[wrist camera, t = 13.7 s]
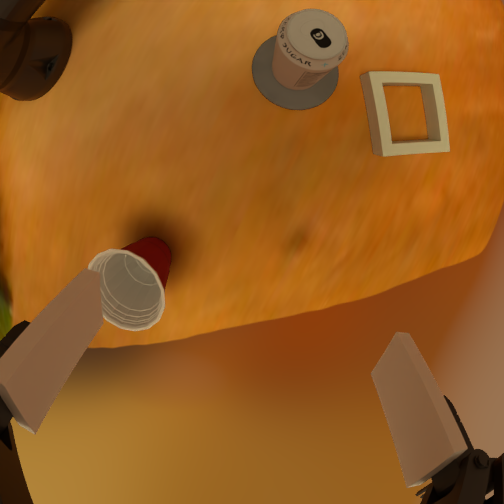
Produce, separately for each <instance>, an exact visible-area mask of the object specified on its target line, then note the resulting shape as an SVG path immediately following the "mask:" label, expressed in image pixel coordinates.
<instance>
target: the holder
mask: <svg viewBox="0 0 504 504" xmlns="http://www.w3.org/2000/svg"><path fill="white" fill-rule="evenodd" d="M360 79H361V84H362V89H363V94H364V99H365V104H366V110H367V115H368V121H369V128H370V134H371V141H372V149H373V154H375V155H379V156H394V155H405V154H418V153H434V152H450V147H449V136H448V126H447V118H446V111H445V105H444V98H443V93H442V87H441V82H440V77H439V74H430V73H415V72H388V71H370V72H367V73H365V74H363V75H361V76H360ZM383 86H420V87H421V93H422V98H423V104H424V110H425V117H426V124H427V132H428V139H425V140H406V141H392V139H391V132H390V125H389V118H388V112H387V106H386V101H385V95H384V90H383Z"/></svg>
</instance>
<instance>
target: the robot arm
mask: <svg viewBox="0 0 504 504" xmlns="http://www.w3.org/2000/svg"><path fill="white" fill-rule="evenodd" d="M44 2H45V0H0V92H1V93H3V94H5V95H8V96H10V97H11V98H13V99H15V100H19V101H31V100H35V99H37V98H39V97H41V96H43V95H44V94H45V93H46V92H48V91H49V90H50V89H51V88H52V86H53V85H54V84H55V83H56V81H57V80H58V79H59V77H60V75H61V74H62V72H63V70H64V68H65V66H66V64H67V61H68V58H69V55H70V51H71V45H72V35H71V30H70V28H69V26H68V24H67V23H66V22H64V21H63V20H60V19H58V18H55V17H40V18H32V19H30V18H31V17H32V15H33V14H34V13H35V12H36V11H37V9H38V8H39V7H40V6H41V5H42V4H43V3H44ZM102 325H103V315H102V304H101V290H100V273H99V272H96V271H92V270H89V269H84V270H82V271H81V272H80V273H79V274H78V275H77V276H76V277H75V278H74V279H73V280H72V281H71V282H70V283H69V284H68V285H67V286H66V287H65V288H64V289H63V290H62V291H61V292H60V293H59V294H58V295H57V296H56V297H55V298H54V299H53V300H52V301H51V302H50V303H49V304H48V305H47V306H46V307H45V308H44V309H43V310H42V311H41V313H40V314H39V315H38V316H37V317H36V318H35V319H34V320H33V321H32V322H31V323H30V322H28V321H25V320H24V321H23V322H21V323H19V324H17V325H15V326H14V327H13V328H12V329H11V330H10V331H9V332H8V333H7V334H6V337H4V338H3V339H2V340H1V341H0V504H33V501H32V499H31V496H30V493H29V490H28V487H27V484H26V481H25V478H24V475H23V471H22V468H21V464H20V460H19V457H18V453H17V448H16V444H15V439H14V435H13V429H12V425H11V423H10V420H11V419H12V417H14V418H15V420H16V421H17V422H18V424H19V425H20V426H22V427H23V428H25V429H27V430H28V431H30V432H32V433H33V434H36V432H37V431H38V429H39V427H40V425H41V423H42V421H43V419H44V418H45V416H46V414H47V412H48V410H49V409H50V407H51V405H52V403H53V402H54V400H55V398H56V397H57V395H58V393H59V392H60V390H61V388H62V386H63V385H64V383H65V381H66V380H67V378H68V377H69V375H70V373H71V372H72V370H73V369H74V367H75V365H76V364H77V362H78V361H79V359H80V357H81V356H82V354H83V353H84V351H85V350H86V348H87V347H88V345H89V344H90V342H91V341H92V339H93V338H94V336H95V335H96V333H97V332H98V330H99V329H100V327H101V326H102ZM371 375H372V378H373V381H374V384H375V387H376V390H377V393H378V395H379V398H380V401H381V404H382V407H383V410H384V413H385V416H386V419H387V422H388V425H389V428H390V432H391V435H392V438H393V441H394V444H395V448H396V451H397V454H398V458H399V461H400V464H401V468H402V472H403V476H404V479H405V483H406V487H407V488H409V487H413V486H417V485H421V484H422V483H424V482H425V481H427V480H428V479H430V478H432V483H430V484H429V485H427V486H426V487H424V488H423V489H421V490H420V491H418V492H417V494H416V496H418V495H420V494H422V493H423V492H425V491H426V492H425V494H423V495H422V496H421V497H420V498H422V501H421V503H420V504H504V453H503V454H502V455H501V456H500V457H498V458H489V456H488V455H487V453H485V452H484V451H483V450H480V449H475V450H474V448H473V446H472V444H471V442H470V440H469V438H468V435H467V433H466V431H465V429H464V426H463V425H462V423H461V422H460V418H459V416H458V415H457V412H456V410H455V408H454V406H453V404H452V403H451V402H450V400H449V399H448V398H447V397H446V396H445V395H444V396H443V394H442V392H441V390H440V388H439V386H438V385H437V383H436V381H435V379H434V377H433V375H432V373H431V371H430V370H429V368H428V366H427V364H426V362H425V360H424V359H423V357H422V355H421V353H420V352H419V350H418V348H417V346H416V345H415V343H414V341H413V339H412V338H411V336H410V334H409V333H401V332H396V334H395V335H394V337H393V339H392V340H391V342H390V344H389V346H388V347H387V349H386V350H385V352H384V354H383V355H382V357H381V358H380V360H379V362H378V363H377V365H376V366H375V368H374V370H373V371H372V373H371ZM492 490H494V495H493V496H492V497H490V498H489V499H487V500H486V499H485V495H486V494H488V493H489V492H491V491H492Z"/></svg>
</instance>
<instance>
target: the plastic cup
mask: <svg viewBox="0 0 504 504" xmlns="http://www.w3.org/2000/svg"><path fill="white" fill-rule="evenodd" d="M170 264H171V252H170V250H169V247H168V246H167V245H166V244H165V242H164V241H162V240H160V239H158V238H156V237H147V238H144V239H141V240H139V241H137V242H135V243H132V244H130V245H128V246H126V247H124V248H122V249H109V250H107V251H104V252H101V253H99V254H97V255H96V256H95V258H94V259H93V260H92V261H91V262H90V264H89V266H88V269H89V270H92V271H96V272H99V273H100V290H101V304H102V315H103V317H104V318H105V319H106V320H107V321H108V322H110V323H112V324H114V325H115V326H117V327H119V328H121V329H126V330H131V331H139V330H144V329H149V328H150V327H152V326H153V325H154V324H155V323H157V322H158V321H159V320H160V318H161V315H162V313H163V311H164V308H165V287H166V283H167V279H168V275H169V268H170Z"/></svg>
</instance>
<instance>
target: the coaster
mask: <svg viewBox="0 0 504 504" xmlns="http://www.w3.org/2000/svg"><path fill="white" fill-rule="evenodd" d="M276 38H277V35H276V36H274V37H271V38H270V39H268V40H267V41H265V42H264V43H263V44H262V45H261V46H260V47H259V49H258V50H257V52H256V54H255V56H254V59H253V64H252V73H253V78H254V82H255V84H256V86H257V88H258V89H259V91H260V92H261V93H262V95H263V96H264V97H266V98H267V99H268V100H269V101H271V102H272V103H274V104H276V105H278V106H280V107H283V108H286V109H291V110H305V109H310V108H313V107H316V106H318V105H320V104H321V103H323V102H325V101H326V100H327V99H328V98H329V97H330V96H331V95H332V93H333V92H334V90H335V88H336V86H337V82H338V66H336V67H335V68H334V69H332V70H331V71H330V72H329V73H328V74H326V75H325V76H324V77H323V78H321V79H320V80H319V81H318V82H317V83H315V84H314V85H313V86H312V87H310V88H308V89H304V90H292V89H288V88H286V87H284V86H283V85H281V84H280V83H279V82H278V81H277V80H276V78H275V77H274V75H273V72H272V62H273V56H274V50H275V44H276Z"/></svg>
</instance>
